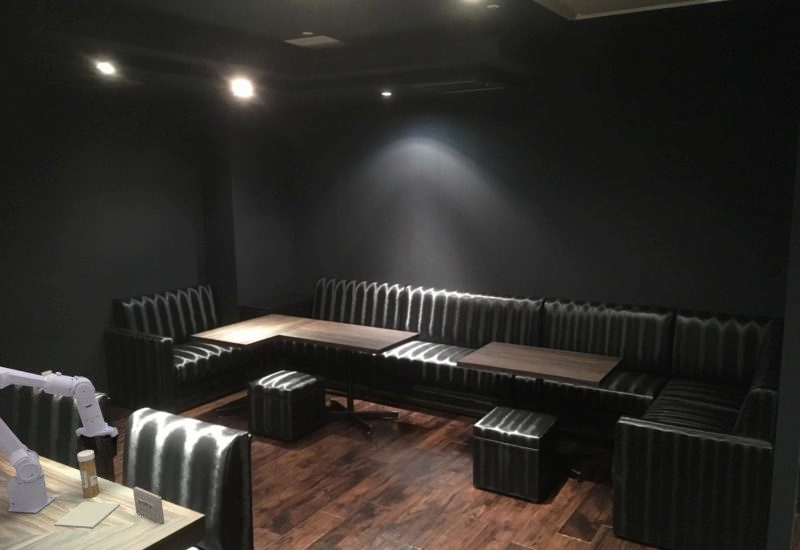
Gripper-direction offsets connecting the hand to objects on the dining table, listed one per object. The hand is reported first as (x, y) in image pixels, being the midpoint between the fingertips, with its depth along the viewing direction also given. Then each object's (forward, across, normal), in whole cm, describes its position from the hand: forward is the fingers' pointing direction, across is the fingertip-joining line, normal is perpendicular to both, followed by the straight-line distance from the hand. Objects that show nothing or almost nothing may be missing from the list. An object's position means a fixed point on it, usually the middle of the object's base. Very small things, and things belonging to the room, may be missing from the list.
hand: (104, 456), depth 201 cm
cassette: (+10, -25, +14) cm, 31 cm away
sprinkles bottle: (+9, +1, +7) cm, 12 cm away
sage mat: (+8, -7, +17) cm, 20 cm away
